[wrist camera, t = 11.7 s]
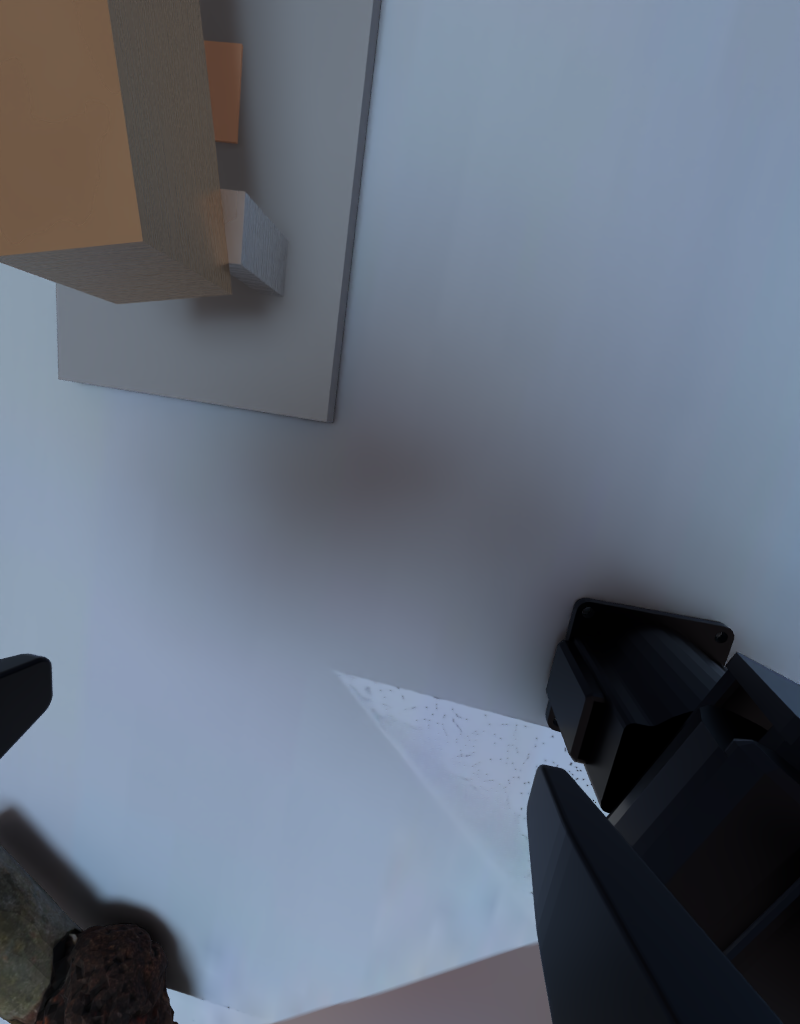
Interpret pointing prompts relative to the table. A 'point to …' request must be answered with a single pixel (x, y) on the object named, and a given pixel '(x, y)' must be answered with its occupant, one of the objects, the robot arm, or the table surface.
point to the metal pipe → (73, 963)
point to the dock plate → (285, 201)
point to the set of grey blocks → (254, 245)
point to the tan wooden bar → (110, 149)
